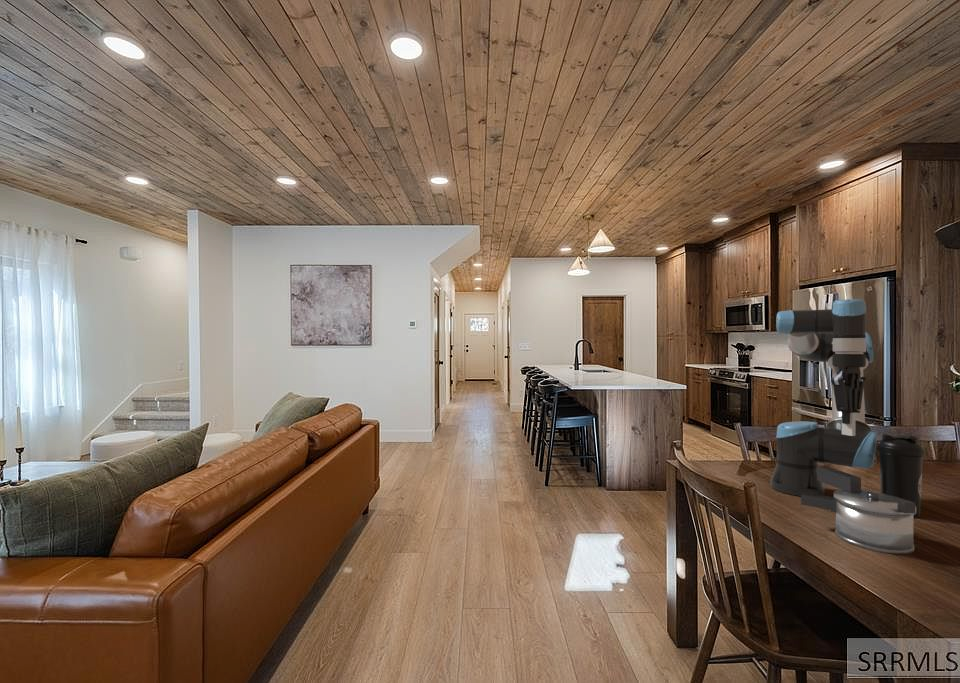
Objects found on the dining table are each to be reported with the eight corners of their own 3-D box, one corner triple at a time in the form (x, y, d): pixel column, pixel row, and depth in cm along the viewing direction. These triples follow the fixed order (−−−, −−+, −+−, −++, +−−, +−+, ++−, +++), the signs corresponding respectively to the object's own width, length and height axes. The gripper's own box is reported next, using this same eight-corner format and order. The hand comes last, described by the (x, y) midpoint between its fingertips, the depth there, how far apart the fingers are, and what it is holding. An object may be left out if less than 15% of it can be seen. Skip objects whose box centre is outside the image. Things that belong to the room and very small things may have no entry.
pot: (912, 539, 117) (912, 504, 117) (916, 560, 105) (916, 522, 105) (804, 516, 132) (805, 485, 132) (797, 533, 120) (798, 499, 120)
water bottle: (928, 521, 129) (929, 440, 129) (881, 514, 134) (881, 436, 134) (918, 510, 137) (918, 434, 137) (874, 503, 143) (874, 430, 143)
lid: (941, 517, 107) (941, 495, 107) (878, 519, 106) (878, 496, 106) (847, 483, 133) (848, 466, 133) (795, 484, 132) (796, 466, 132)
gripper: (847, 352, 137) (846, 430, 137) (820, 352, 132) (820, 434, 132) (877, 353, 130) (876, 435, 130) (850, 353, 125) (850, 439, 125)
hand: (848, 434), depth 131 cm, fingers closed
